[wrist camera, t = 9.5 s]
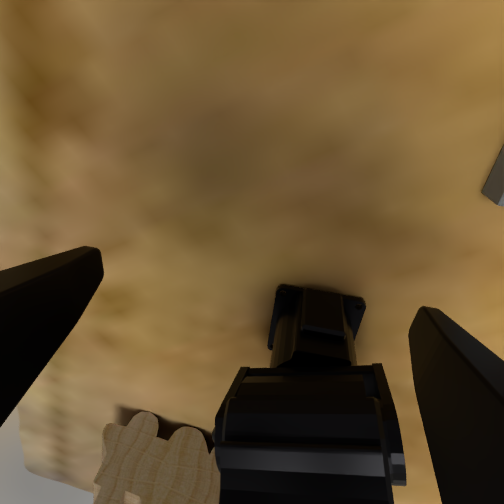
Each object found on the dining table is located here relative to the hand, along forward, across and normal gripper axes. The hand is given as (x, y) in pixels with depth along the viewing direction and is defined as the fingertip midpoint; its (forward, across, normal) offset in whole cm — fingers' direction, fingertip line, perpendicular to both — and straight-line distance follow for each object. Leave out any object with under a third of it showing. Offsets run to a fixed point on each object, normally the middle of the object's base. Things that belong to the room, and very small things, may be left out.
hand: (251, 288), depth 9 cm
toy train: (+13, +6, +32) cm, 35 cm away
